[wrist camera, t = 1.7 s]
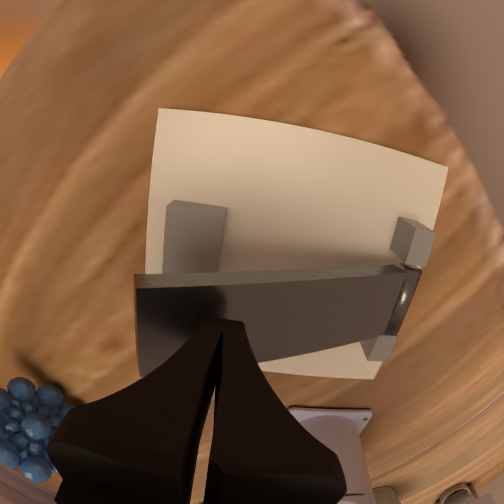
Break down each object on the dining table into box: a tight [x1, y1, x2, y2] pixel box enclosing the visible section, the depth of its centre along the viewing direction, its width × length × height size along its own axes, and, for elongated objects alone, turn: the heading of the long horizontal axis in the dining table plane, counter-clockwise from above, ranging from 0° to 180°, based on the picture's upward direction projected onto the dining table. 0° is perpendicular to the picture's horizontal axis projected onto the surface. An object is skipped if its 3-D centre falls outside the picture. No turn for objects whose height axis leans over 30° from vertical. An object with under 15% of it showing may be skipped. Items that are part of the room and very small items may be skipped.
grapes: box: [0, 377, 78, 483], centre depth 20 cm, size 12×7×12 cm, turn 46°
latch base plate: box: [145, 108, 448, 379], centre depth 18 cm, size 16×17×4 cm
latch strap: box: [134, 263, 422, 377], centre depth 14 cm, size 15×4×1 cm, turn 81°
